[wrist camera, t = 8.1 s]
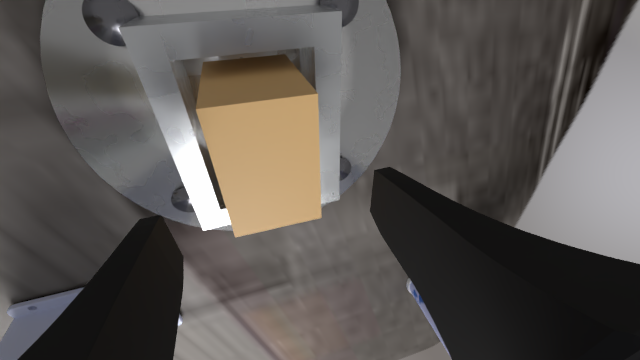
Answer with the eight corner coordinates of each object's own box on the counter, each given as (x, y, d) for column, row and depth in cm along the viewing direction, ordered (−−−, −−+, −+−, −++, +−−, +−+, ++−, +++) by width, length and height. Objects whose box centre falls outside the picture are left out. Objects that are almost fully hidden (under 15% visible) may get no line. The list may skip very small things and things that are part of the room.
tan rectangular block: (230, 165, 17) (235, 237, 12) (203, 61, 13) (195, 109, 9) (294, 154, 18) (321, 217, 13) (285, 54, 14) (317, 93, 10)
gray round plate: (149, 239, 20) (136, 294, 17) (-67, -116, 9) (-234, -167, 6) (375, 189, 24) (402, 226, 21) (410, -106, 13) (479, -134, 10)
